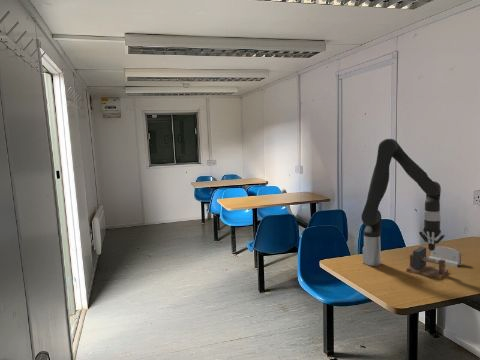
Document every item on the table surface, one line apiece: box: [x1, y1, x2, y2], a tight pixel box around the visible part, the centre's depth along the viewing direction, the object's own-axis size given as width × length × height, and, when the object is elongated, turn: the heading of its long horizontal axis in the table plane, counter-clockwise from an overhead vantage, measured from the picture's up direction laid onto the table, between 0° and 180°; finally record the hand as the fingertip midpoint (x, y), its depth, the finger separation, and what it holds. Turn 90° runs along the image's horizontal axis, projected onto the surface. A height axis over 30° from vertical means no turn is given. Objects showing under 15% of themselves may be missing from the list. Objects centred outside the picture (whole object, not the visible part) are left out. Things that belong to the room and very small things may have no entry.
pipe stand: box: [406, 253, 449, 280], centre depth 187 cm, size 17×12×8 cm
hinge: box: [428, 245, 462, 268], centre depth 200 cm, size 17×5×10 cm, turn 34°
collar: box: [412, 246, 427, 270], centre depth 190 cm, size 3×10×10 cm, turn 131°
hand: (431, 250), depth 185 cm, fingers closed
